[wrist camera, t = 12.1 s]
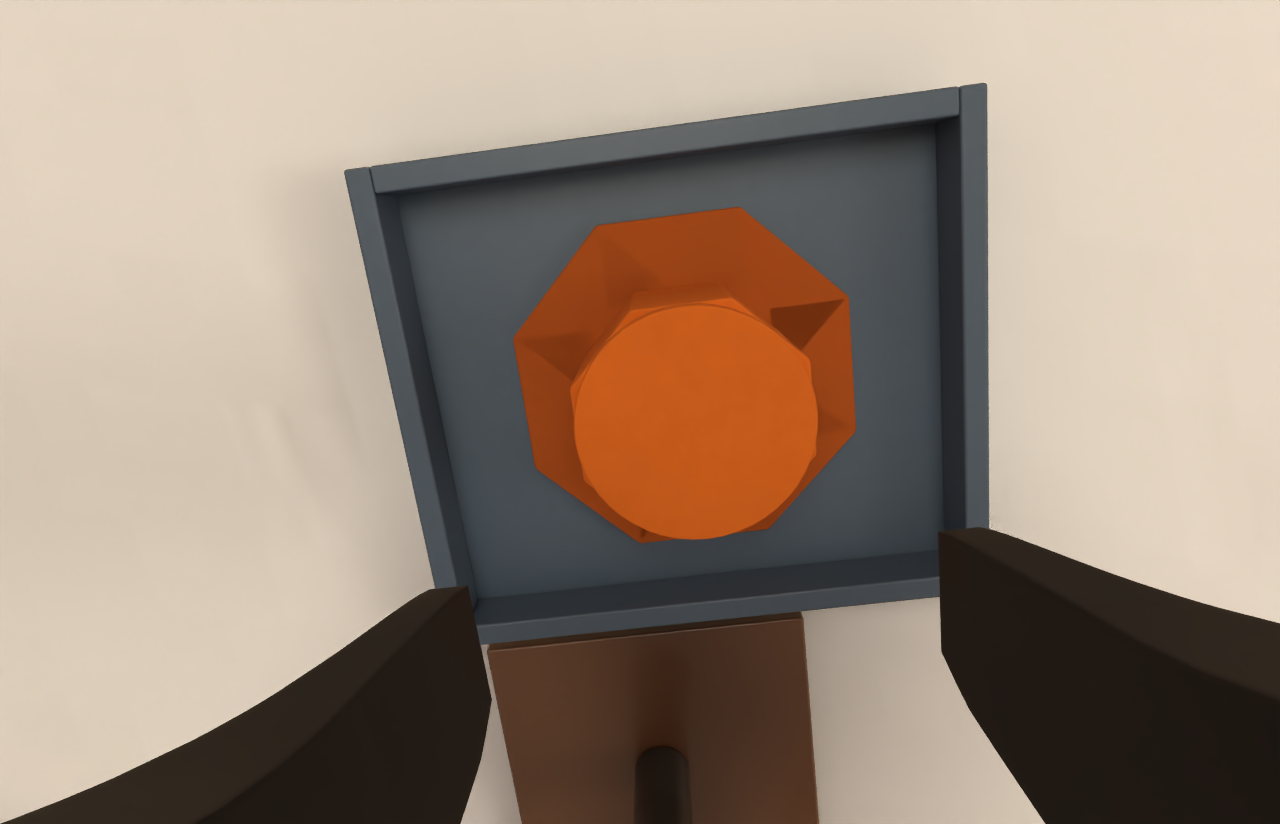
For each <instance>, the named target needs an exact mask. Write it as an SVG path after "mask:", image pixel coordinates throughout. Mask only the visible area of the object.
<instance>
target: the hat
mask: <svg viewBox="0 0 1280 824" xmlns="http://www.w3.org/2000/svg"><path fill="white" fill-rule="evenodd" d="M513 342H514V348H515V354H516V360H517V365H518V371H519V377H520V383H521V389H522V394H523V400H524V406H525V412H526V418H527V423H528V429H529V435H530V441H531V447H532V452H533V458H534V464H535V467H536V469H537V470H538V471H540V472H541V473H542V474H544V475H545V476H547V477H548V478H549V479H551V480H552V481H554V482H555V483H556V484H558V485H559V486H561V487H562V488H563V489H565V490H566V491H568V492H569V493H570V494H572V495H573V496H574V497H576V498H577V499H579V500H580V501H581V502H583V503H584V504H586V505H587V506H588V507H590V508H591V509H593V510H594V511H595V512H597V513H598V514H600V515H601V516H602V517H604V518H605V519H606V520H608V521H609V522H611V523H612V524H613V525H615V526H616V527H618V528H619V529H620V530H622V531H623V532H625V533H626V534H627V535H629V536H630V537H632V538H633V539H634V540H636V541H637V542H639V543H648V542H657V541H666V540H675V539H691V540H695V539H710V538H716V537H722V536H726V535H729V534H732V533H739V532H748V531H757V530H766V529H769V528H770V527H771V526H772V525H773V524H774V522H775V521H776V520H777V519H778V518H779V517H780V516H781V515H782V513H783V512H784V511H785V510H786V509H787V508H788V507H789V506H790V505H791V503H792V502H793V501H794V500H795V499H796V498H797V497H798V496H799V494H800V493H801V492H802V491H803V490H804V489H805V488H806V487H807V486H808V484H809V483H810V482H811V481H812V480H813V479H814V478H815V477H816V475H817V474H818V473H819V472H820V471H821V470H822V469H823V468H824V467H825V465H826V464H827V463H828V462H829V461H830V460H831V459H832V458H833V456H834V455H835V454H836V453H837V452H838V451H839V450H840V449H841V448H842V446H843V445H844V444H845V443H846V442H847V441H848V440H849V439H850V437H851V436H852V435H853V434H854V433H855V431H856V420H855V401H854V382H853V363H852V344H851V325H850V306H849V297H848V295H847V294H845V293H844V292H843V291H842V290H841V289H839V288H838V287H837V286H836V285H834V284H833V283H832V282H831V281H830V280H828V279H827V278H826V277H825V276H824V275H822V274H821V273H820V272H819V271H817V270H816V269H815V268H814V267H813V266H811V265H810V264H809V263H808V262H807V261H805V260H804V259H803V258H802V257H801V256H799V255H798V254H797V253H796V252H794V251H793V250H792V249H791V248H790V247H788V246H787V245H786V244H785V243H784V242H782V241H781V240H780V239H779V238H778V237H776V236H775V235H774V234H773V233H771V232H770V231H769V230H768V229H767V228H765V227H764V226H763V225H762V224H761V223H759V222H758V221H757V220H756V219H755V218H753V217H752V216H751V215H750V214H748V213H747V212H746V211H745V210H744V209H742V208H740V207H732V208H724V209H717V210H709V211H701V212H694V213H686V214H678V215H671V216H663V217H655V218H648V219H640V220H633V221H625V222H617V223H610V224H602V225H597V226H596V227H594V229H593V230H592V231H591V233H590V234H589V235H588V237H587V238H586V239H585V241H584V242H583V244H582V245H581V246H580V248H579V249H578V250H577V252H576V253H575V254H574V256H573V257H572V258H571V260H570V261H569V263H568V264H567V265H566V267H565V268H564V269H563V271H562V272H561V273H560V275H559V276H558V278H557V279H556V280H555V282H554V283H553V284H552V286H551V287H550V288H549V290H548V291H547V292H546V294H545V295H544V297H543V298H542V299H541V301H540V302H539V303H538V305H537V306H536V307H535V309H534V310H533V311H532V313H531V314H530V316H529V317H528V318H527V320H526V321H525V322H524V324H523V325H522V326H521V328H520V329H519V331H518V332H517V333H516V335H515V336H514V339H513Z"/></svg>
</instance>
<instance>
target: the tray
mask: <svg viewBox="0 0 1280 824" xmlns="http://www.w3.org/2000/svg"><path fill="white" fill-rule="evenodd" d="M344 174H345V179H346V183H347V188H348V193H349V197H350V202H351V206H352V211H353V215H354V220H355V224H356V229H357V234H358V238H359V243H360V247H361V252H362V256H363V261H364V266H365V270H366V275H367V279H368V284H369V288H370V293H371V297H372V302H373V307H374V311H375V316H376V320H377V325H378V329H379V334H380V338H381V343H382V348H383V352H384V357H385V361H386V366H387V370H388V375H389V379H390V384H391V389H392V393H393V398H394V402H395V407H396V411H397V416H398V420H399V425H400V430H401V434H402V439H403V443H404V448H405V452H406V457H407V462H408V466H409V471H410V475H411V480H412V484H413V489H414V493H415V498H416V503H417V507H418V512H419V516H420V521H421V525H422V530H423V534H424V539H425V544H426V548H427V553H428V557H429V562H430V566H431V571H432V575H433V580H434V585H435V589H439V588H448V587H456V586H465V585H468V589H469V593H470V598H471V603H472V608H473V613H474V617H475V622H476V627H477V632H478V636H479V641H480V645H483V644H493V643H502V642H512V641H521V640H531V639H540V638H550V637H560V636H569V635H579V634H588V633H598V632H607V631H617V630H626V629H636V628H646V627H655V626H665V625H674V624H684V623H693V622H703V621H713V620H722V619H732V618H741V617H751V616H760V615H770V614H779V613H789V612H799V611H808V610H818V609H827V608H837V607H846V606H856V605H865V604H875V603H885V602H894V601H904V600H913V599H923V598H932V597H940V583H939V549H938V532H939V531H948V530H957V529H966V528H974V527H982V528H986V529H989V400H988V167H987V84H986V83H979V84H971V85H964V86H960V87H949V88H942V89H934V90H927V91H920V92H912V93H905V94H898V95H890V96H883V97H876V98H868V99H861V100H854V101H846V102H839V103H832V104H824V105H817V106H810V107H802V108H795V109H788V110H780V111H773V112H766V113H758V114H751V115H744V116H736V117H729V118H722V119H714V120H707V121H700V122H692V123H685V124H678V125H670V126H663V127H656V128H648V129H641V130H634V131H626V132H619V133H611V134H604V135H597V136H589V137H582V138H575V139H567V140H560V141H553V142H545V143H538V144H531V145H523V146H516V147H509V148H501V149H494V150H487V151H479V152H472V153H465V154H457V155H450V156H443V157H435V158H428V159H421V160H413V161H406V162H399V163H391V164H384V165H377V166H372V167H362V168H355V169H348V170H345V171H344ZM732 207H740V208H742V209H744V210H745V211H746V212H747V213H748V214H750V215H751V216H752V217H753V218H755V219H756V220H757V221H758V222H759V223H761V224H762V225H763V226H764V227H765V228H767V229H768V230H769V231H770V232H771V233H773V234H774V235H775V236H776V237H778V238H779V239H780V240H781V241H782V242H784V243H785V244H786V245H787V246H788V247H790V248H791V249H792V250H793V251H794V252H796V253H797V254H798V255H799V256H801V257H802V258H803V259H804V260H805V261H807V262H808V263H809V264H810V265H811V266H813V267H814V268H815V269H816V270H817V271H819V272H820V273H821V274H822V275H824V276H825V277H826V278H827V279H828V280H830V281H831V282H832V283H833V284H834V285H836V286H837V287H838V288H839V289H841V290H842V291H843V292H844V293H845V294H847V295H848V297H849V306H850V325H851V344H852V363H853V382H854V401H855V420H856V431H855V433H854V434H853V435H852V436H851V437H850V439H849V440H848V441H847V442H846V443H845V444H844V445H843V446H842V448H841V449H840V450H839V451H838V452H837V453H836V454H835V455H834V456H833V458H832V459H831V460H830V461H829V462H828V463H827V464H826V465H825V467H824V468H823V469H822V470H821V471H820V472H819V473H818V474H817V475H816V477H815V478H814V479H813V480H812V481H811V482H810V483H809V484H808V486H807V487H806V488H805V489H804V490H803V491H802V492H801V493H800V494H799V496H798V497H797V498H796V499H795V500H794V501H793V502H792V503H791V505H790V506H789V507H788V508H787V509H786V510H785V511H784V512H783V513H782V515H781V516H780V517H779V518H778V519H777V520H776V521H775V522H774V524H773V525H772V526H771V527H770V528H769V529H766V530H757V531H748V532H739V533H732V534H729V535H726V536H722V537H716V538H710V539H695V540H691V539H675V540H666V541H657V542H648V543H639V542H637V541H636V540H634V539H633V538H632V537H630V536H629V535H627V534H626V533H625V532H623V531H622V530H620V529H619V528H618V527H616V526H615V525H613V524H612V523H611V522H609V521H608V520H606V519H605V518H604V517H602V516H601V515H600V514H598V513H597V512H595V511H594V510H593V509H591V508H590V507H588V506H587V505H586V504H584V503H583V502H581V501H580V500H579V499H577V498H576V497H574V496H573V495H572V494H570V493H569V492H568V491H566V490H565V489H563V488H562V487H561V486H559V485H558V484H556V483H555V482H554V481H552V480H551V479H549V478H548V477H547V476H545V475H544V474H542V473H541V472H540V471H538V470H537V469H536V467H535V464H534V458H533V452H532V447H531V441H530V435H529V429H528V423H527V418H526V412H525V406H524V400H523V394H522V389H521V383H520V377H519V371H518V365H517V360H516V354H515V348H514V342H513V339H514V336H515V335H516V333H517V332H518V331H519V329H520V328H521V326H522V325H523V324H524V322H525V321H526V320H527V318H528V317H529V316H530V314H531V313H532V311H533V310H534V309H535V307H536V306H537V305H538V303H539V302H540V301H541V299H542V298H543V297H544V295H545V294H546V292H547V291H548V290H549V288H550V287H551V286H552V284H553V283H554V282H555V280H556V279H557V278H558V276H559V275H560V273H561V272H562V271H563V269H564V268H565V267H566V265H567V264H568V263H569V261H570V260H571V258H572V257H573V256H574V254H575V253H576V252H577V250H578V249H579V248H580V246H581V245H582V244H583V242H584V241H585V239H586V238H587V237H588V235H589V234H590V233H591V231H592V230H593V229H594V227H596V226H597V225H602V224H610V223H617V222H625V221H633V220H640V219H648V218H655V217H663V216H671V215H678V214H686V213H694V212H701V211H709V210H717V209H724V208H732Z"/></svg>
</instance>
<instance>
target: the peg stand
mask: <svg viewBox="0 0 1280 824" xmlns="http://www.w3.org/2000/svg"><path fill="white" fill-rule="evenodd" d="M487 655H488V660H489V665H490V670H491V674H492V679H493V684H494V689H495V694H496V699H497V704H498V709H499V714H500V718H501V723H502V728H503V733H504V738H505V743H506V748H507V753H508V758H509V762H510V767H511V772H512V777H513V782H514V787H515V792H516V797H517V802H518V806H519V811H520V816H521V821H522V824H819V815H818V802H817V789H816V776H815V763H814V750H813V737H812V724H811V711H810V698H809V685H808V673H807V660H806V647H805V634H804V621H803V617H802V614H801V611H799V612H789V613H779V614H770V615H760V616H751V617H741V618H732V619H722V620H713V621H703V622H693V623H684V624H674V625H665V626H655V627H646V628H636V629H626V630H617V631H607V632H598V633H588V634H579V635H569V636H560V637H550V638H540V639H531V640H521V641H512V642H502V643H493V644H489V647H488V649H487Z"/></svg>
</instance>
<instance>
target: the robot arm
mask: <svg viewBox="0 0 1280 824" xmlns="http://www.w3.org/2000/svg"><path fill="white" fill-rule="evenodd" d="M938 549H939V583H940V617H941V651H942V654H943V656H944V658H945V660H946V662H947V664H948V667H949V669H950V671H951V673H952V675H953V677H954V680H955V682H956V684H957V686H958V688H959V690H960V692H961V694H962V696H963V698H964V700H965V702H966V704H967V706H968V708H969V710H970V711H971V713H972V714H973V716H974V717H975V719H976V720H977V722H978V724H979V725H980V727H981V728H982V730H983V731H984V733H985V734H986V736H987V737H988V739H989V740H990V742H991V743H992V745H993V746H994V748H995V749H996V751H997V752H998V754H999V755H1000V757H1001V758H1002V760H1003V761H1004V763H1005V764H1006V766H1007V767H1008V769H1009V770H1010V772H1011V773H1012V775H1013V776H1014V778H1015V779H1016V781H1017V782H1018V784H1019V785H1020V787H1021V788H1022V790H1023V791H1024V793H1025V794H1026V796H1027V797H1028V799H1029V800H1030V802H1031V803H1032V805H1033V806H1034V808H1035V809H1036V811H1037V812H1038V813H1039V815H1040V816H1041V818H1042V819H1043V821H1044V822H1045V824H1280V623H1276V622H1272V621H1268V620H1264V619H1260V618H1256V617H1253V616H1249V615H1245V614H1241V613H1237V612H1233V611H1229V610H1225V609H1221V608H1218V607H1214V606H1211V605H1207V604H1204V603H1200V602H1197V601H1193V600H1190V599H1187V598H1183V597H1180V596H1177V595H1174V594H1171V593H1168V592H1165V591H1162V590H1159V589H1156V588H1152V587H1149V586H1146V585H1143V584H1140V583H1137V582H1134V581H1131V580H1128V579H1126V578H1123V577H1120V576H1117V575H1114V574H1111V573H1109V572H1106V571H1103V570H1100V569H1098V568H1095V567H1092V566H1090V565H1087V564H1084V563H1081V562H1079V561H1076V560H1073V559H1071V558H1068V557H1066V556H1063V555H1060V554H1058V553H1055V552H1052V551H1050V550H1047V549H1045V548H1042V547H1039V546H1037V545H1034V544H1031V543H1029V542H1026V541H1023V540H1021V539H1018V538H1015V537H1012V536H1009V535H1006V534H1003V533H1000V532H997V531H994V530H990V529H986V528H982V527H974V528H966V529H957V530H948V531H939V532H938ZM491 701H492V698H491V693H490V689H489V684H488V679H487V674H486V670H485V665H484V660H483V655H482V651H481V646H480V641H479V636H478V632H477V627H476V622H475V617H474V613H473V608H472V603H471V598H470V593H469V589H468V585H465V586H456V587H448V588H439V589H430V590H428V591H426V592H424V593H422V594H420V595H418V596H417V597H415V598H414V599H412V600H410V601H409V602H407V603H406V604H405V605H403V606H402V607H400V608H399V609H397V610H396V611H394V612H393V613H392V614H390V615H389V616H387V617H386V618H385V619H383V620H382V621H380V622H379V623H378V624H376V625H375V626H374V627H372V628H371V629H369V630H368V631H367V632H365V633H364V634H362V635H361V636H360V637H358V638H357V639H355V640H354V641H353V642H351V643H350V644H348V645H347V646H346V647H344V648H343V649H341V650H340V651H339V652H337V653H336V654H334V655H333V656H331V657H330V658H328V659H327V660H325V661H324V662H322V663H321V664H319V665H318V666H316V667H315V668H313V669H312V670H310V671H309V672H307V673H306V674H304V675H303V676H301V677H300V678H298V679H297V680H295V681H294V682H292V683H291V684H289V685H288V686H286V687H285V688H283V689H282V690H280V691H279V692H277V693H275V694H274V695H272V696H271V697H269V698H267V699H266V700H264V701H262V702H261V703H259V704H257V705H256V706H254V707H252V708H251V709H249V710H247V711H246V712H244V713H242V714H240V715H238V716H237V717H235V718H233V719H231V720H229V721H228V722H226V723H224V724H222V725H220V726H219V727H217V728H215V729H213V730H211V731H210V732H208V733H206V734H204V735H202V736H200V737H198V738H196V739H194V740H192V741H191V742H188V743H186V744H184V745H182V746H180V747H178V748H176V749H174V750H172V751H170V752H167V753H165V754H163V755H161V756H159V757H157V758H155V759H153V760H151V761H149V762H147V763H144V764H142V765H140V766H138V767H136V768H134V769H132V770H130V771H128V772H126V773H124V774H121V775H119V776H117V777H115V778H113V779H111V780H108V781H106V782H104V783H101V784H99V785H97V786H94V787H92V788H89V789H87V790H85V791H82V792H80V793H78V794H75V795H73V796H70V797H68V798H66V799H63V800H61V801H58V802H56V803H53V804H51V805H48V806H45V807H43V808H40V809H38V810H35V811H33V812H30V813H27V814H25V815H22V816H20V817H17V818H15V819H12V820H9V821H7V822H4V823H1V824H460V823H461V820H462V817H463V814H464V811H465V808H466V805H467V802H468V799H469V796H470V793H471V789H472V786H473V783H474V780H475V777H476V774H477V771H478V767H479V764H480V761H481V757H482V752H483V747H484V742H485V736H486V731H487V725H488V719H489V713H490V707H491Z"/></svg>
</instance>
